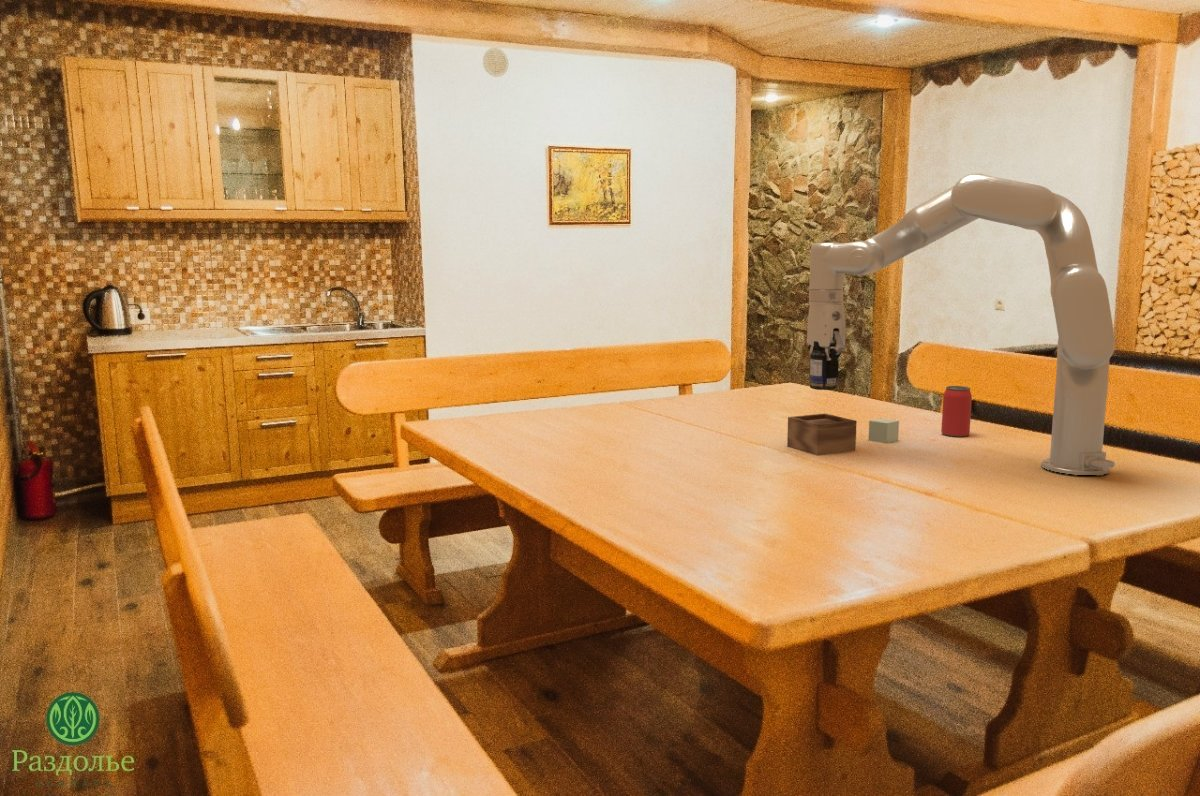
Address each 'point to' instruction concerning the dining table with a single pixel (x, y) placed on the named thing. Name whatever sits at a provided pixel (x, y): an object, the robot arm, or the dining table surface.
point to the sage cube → (883, 430)
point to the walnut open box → (821, 434)
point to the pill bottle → (820, 370)
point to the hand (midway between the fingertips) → (823, 375)
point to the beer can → (956, 411)
